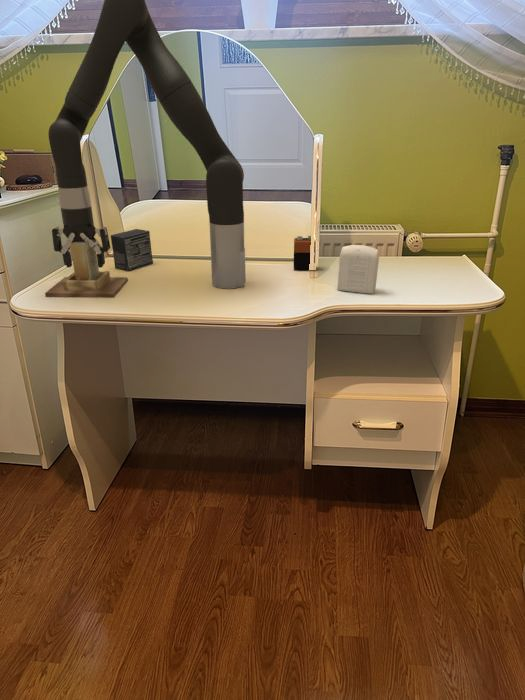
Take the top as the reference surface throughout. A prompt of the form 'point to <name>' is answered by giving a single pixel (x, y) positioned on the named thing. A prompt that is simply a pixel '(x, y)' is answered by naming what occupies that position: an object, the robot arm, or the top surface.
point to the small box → (132, 249)
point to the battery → (302, 253)
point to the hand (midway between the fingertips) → (85, 266)
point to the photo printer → (358, 269)
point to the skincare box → (84, 261)
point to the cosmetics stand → (88, 286)
